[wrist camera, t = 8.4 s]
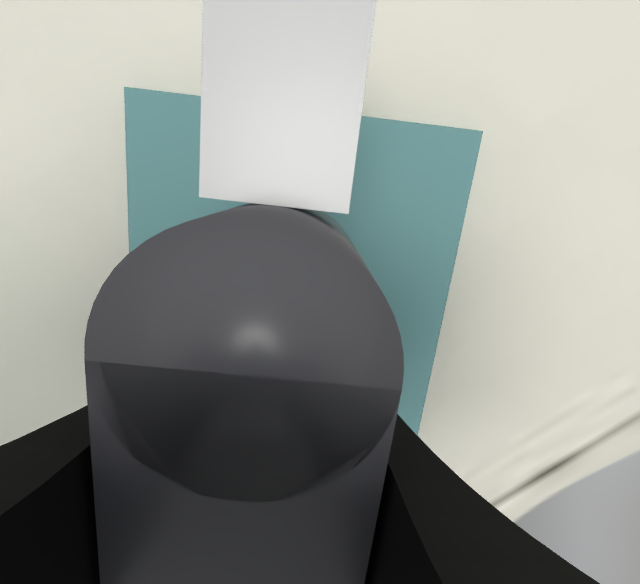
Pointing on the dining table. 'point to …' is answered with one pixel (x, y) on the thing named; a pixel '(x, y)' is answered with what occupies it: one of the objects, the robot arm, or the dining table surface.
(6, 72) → the dining table surface
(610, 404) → the dining table surface
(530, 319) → the dining table surface
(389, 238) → the charging mat
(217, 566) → the cylinder
